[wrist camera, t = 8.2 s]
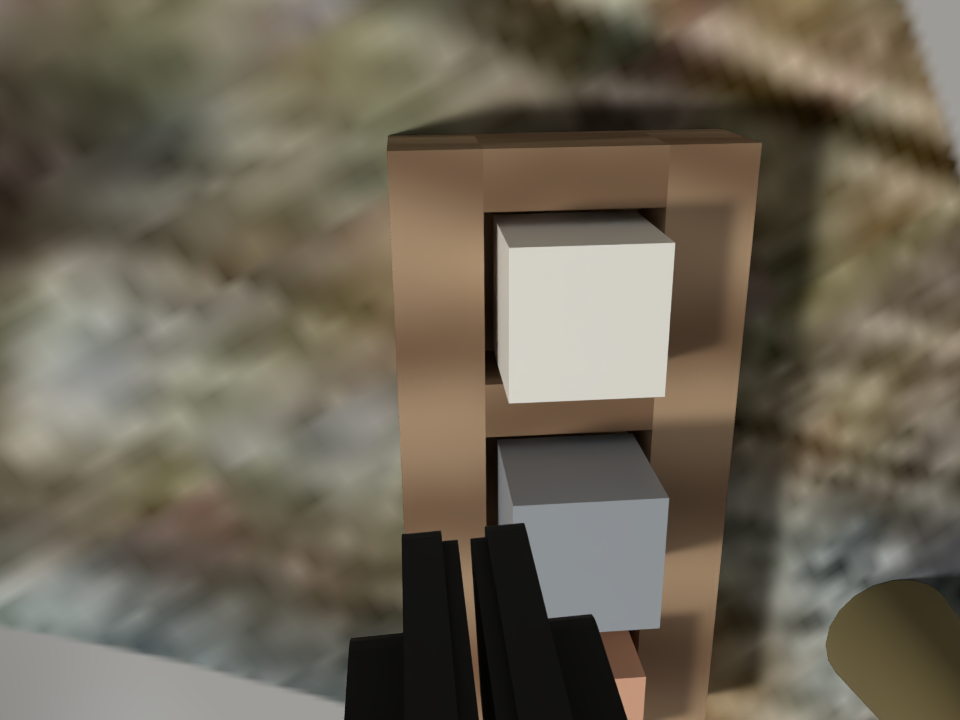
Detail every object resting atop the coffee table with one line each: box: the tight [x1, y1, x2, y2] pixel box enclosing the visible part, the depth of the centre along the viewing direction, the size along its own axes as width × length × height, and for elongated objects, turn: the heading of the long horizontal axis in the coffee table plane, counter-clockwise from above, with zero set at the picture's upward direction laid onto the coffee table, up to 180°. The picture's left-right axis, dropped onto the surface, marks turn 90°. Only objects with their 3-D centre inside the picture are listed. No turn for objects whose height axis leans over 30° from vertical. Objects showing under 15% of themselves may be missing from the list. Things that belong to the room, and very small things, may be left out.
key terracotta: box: [600, 630, 646, 720], centre depth 36 cm, size 5×5×5 cm
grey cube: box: [497, 433, 669, 632], centre depth 32 cm, size 5×5×5 cm
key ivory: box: [493, 211, 675, 404], centre depth 30 cm, size 5×5×5 cm
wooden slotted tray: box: [387, 129, 762, 720], centre depth 35 cm, size 26×12×4 cm, turn 0°
